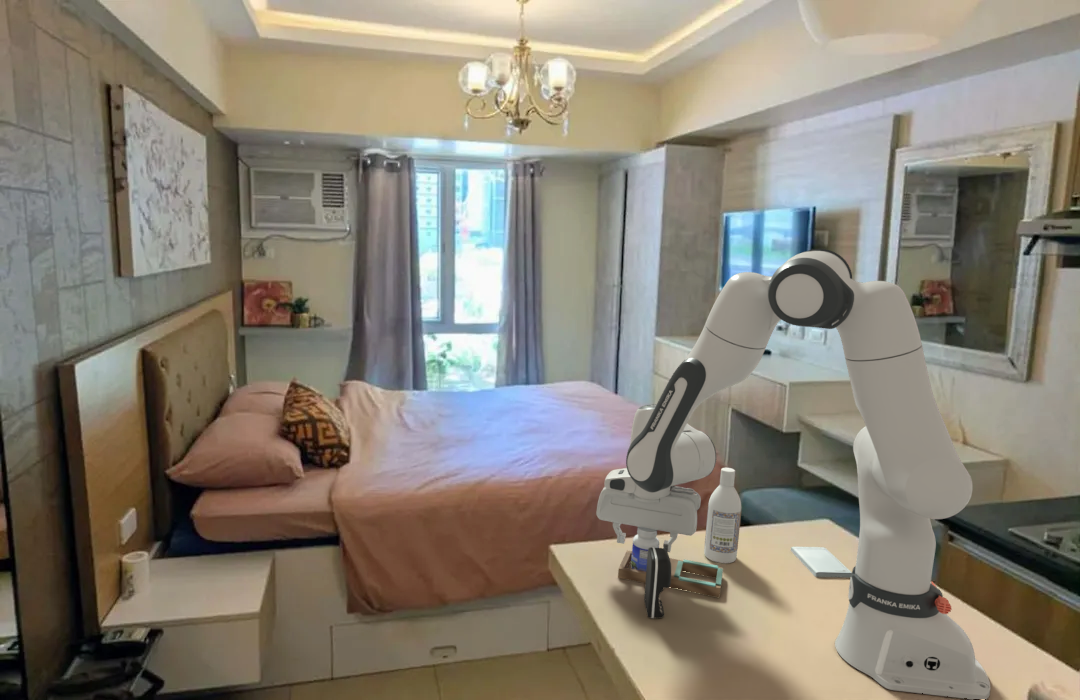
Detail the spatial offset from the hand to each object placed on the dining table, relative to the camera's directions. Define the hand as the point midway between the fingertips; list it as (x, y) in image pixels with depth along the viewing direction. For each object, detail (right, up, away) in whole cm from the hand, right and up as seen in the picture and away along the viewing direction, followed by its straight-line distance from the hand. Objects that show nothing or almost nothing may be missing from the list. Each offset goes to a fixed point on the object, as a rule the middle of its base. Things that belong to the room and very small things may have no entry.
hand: (643, 546), depth 139 cm
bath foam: (+18, -5, +10) cm, 22 cm away
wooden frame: (+5, -6, -1) cm, 8 cm away
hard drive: (+40, -7, +9) cm, 42 cm away
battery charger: (0, -8, -13) cm, 16 cm away
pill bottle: (0, -6, +1) cm, 6 cm away
